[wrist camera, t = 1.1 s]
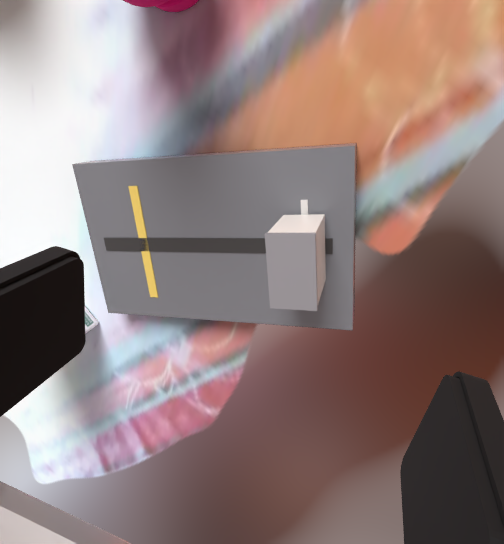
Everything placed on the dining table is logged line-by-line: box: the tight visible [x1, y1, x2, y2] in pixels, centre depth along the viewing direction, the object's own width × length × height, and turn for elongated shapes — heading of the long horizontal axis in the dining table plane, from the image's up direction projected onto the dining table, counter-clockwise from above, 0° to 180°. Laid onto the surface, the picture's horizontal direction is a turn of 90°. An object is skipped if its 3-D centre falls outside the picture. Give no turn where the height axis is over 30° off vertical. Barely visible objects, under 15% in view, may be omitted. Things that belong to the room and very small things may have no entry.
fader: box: [265, 214, 326, 311], centre depth 26 cm, size 3×5×5 cm, turn 5°
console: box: [72, 143, 357, 330], centre depth 32 cm, size 23×14×3 cm, turn 95°
